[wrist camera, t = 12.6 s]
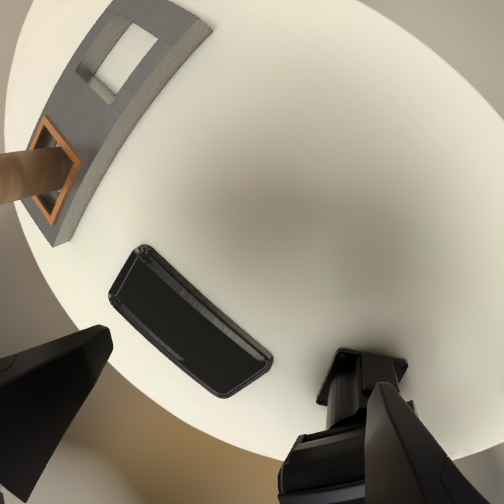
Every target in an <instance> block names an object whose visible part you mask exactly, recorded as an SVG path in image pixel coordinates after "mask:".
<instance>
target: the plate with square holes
mask: <svg viewBox="0 0 504 504" xmlns="http://www.w3.org/2000/svg"><path fill="white" fill-rule="evenodd" d="M132 22H134V23H135V24H137V25H138V26H140V27H141V28H143V29H145V30H146V31H148V32H149V33H151V34H152V35H154V36H155V37H157V38H158V40H157V42H156V43H155V44H154V45H153V46H152V48H151V49H150V50H149V51H148V53H147V54H146V55H145V56H144V58H143V59H142V60H141V61H140V63H139V64H138V65H137V67H136V68H135V69H134V71H133V72H132V73H131V75H130V76H129V78H128V79H127V80H126V82H125V83H124V85H123V86H122V87H121V89H120V90H119V92H118V93H117V95H116V96H115V95H114V94H113V93H112V92H111V91H110V90H109V89H108V88H107V87H106V86H104V85H103V84H102V83H101V82H100V81H99V80H98V79H97V78H96V77H95V76H94V74H95V72H96V71H97V69H98V67H99V66H100V65H101V63H102V62H103V60H104V59H105V57H106V56H107V54H108V53H109V52H110V50H111V49H112V47H113V46H114V45H115V43H116V42H117V41H118V39H119V38H120V37H121V36H122V34H123V33H124V32H125V30H126V29H127V28H128V27H129V25H130V24H131V23H132ZM212 31H213V30H212V29H210V28H209V27H208V26H207V25H206V24H205V23H204V22H203V21H202V20H201V19H200V18H199V17H197V16H195V15H193V14H192V13H190V12H188V11H186V10H185V9H183V8H181V7H179V6H177V5H176V4H174V3H172V2H170V1H168V0H113V1H112V2H111V3H110V5H109V6H108V7H107V8H106V10H105V11H104V12H103V13H102V15H101V16H100V17H99V19H98V20H97V21H96V23H95V24H94V25H93V27H92V28H91V29H90V31H89V32H88V34H87V35H86V36H85V38H84V39H83V41H82V42H81V44H80V45H79V47H78V48H77V50H76V51H75V53H74V55H73V56H72V58H71V59H70V61H69V63H68V64H67V66H66V68H65V69H64V71H63V73H62V75H61V76H60V78H59V80H58V82H57V84H56V85H55V87H54V89H53V91H52V93H51V95H50V97H49V99H48V101H47V103H46V105H45V107H44V109H43V111H42V113H41V116H40V118H39V120H38V122H37V124H36V127H35V129H34V131H33V134H32V136H31V139H30V141H29V144H28V146H27V149H26V150H34V149H43V148H54V146H55V144H56V142H58V144H59V145H60V146H61V147H62V149H63V150H64V151H65V153H66V154H67V155H68V156H69V158H70V159H71V160H72V161H73V163H74V164H73V166H72V168H71V170H70V173H69V175H68V177H67V179H66V181H65V183H64V185H63V188H62V190H61V192H60V195H59V194H58V192H57V191H56V190H55V191H51V192H47V193H43V194H39V195H35V196H31V197H28V198H24V199H20V200H21V202H22V203H23V205H24V206H25V208H26V210H27V211H28V213H29V214H30V216H31V217H32V219H33V220H34V222H35V223H36V225H37V226H38V228H39V229H40V231H41V232H42V233H43V235H44V236H45V238H46V239H47V241H48V242H49V243H50V245H51V246H52V247H56V246H58V245H60V244H63V243H65V242H67V241H70V240H71V237H72V235H73V233H74V231H75V229H76V227H77V225H78V223H79V220H80V218H81V216H82V214H83V212H84V210H85V208H86V207H87V205H88V203H89V201H90V199H91V197H92V195H93V193H94V191H95V190H96V188H97V186H98V184H99V182H100V181H101V179H102V177H103V175H104V174H105V172H106V170H107V169H108V167H109V165H110V163H111V162H112V160H113V159H114V157H115V155H116V154H117V152H118V150H119V149H120V147H121V146H122V144H123V143H124V141H125V140H126V138H127V137H128V135H129V134H130V132H131V131H132V129H133V128H134V126H135V125H136V123H137V122H138V120H139V119H140V118H141V116H142V115H143V113H144V112H145V111H146V109H147V108H148V106H149V105H150V104H151V102H152V101H153V100H154V98H155V97H156V96H157V95H158V93H159V92H160V91H161V89H162V88H163V87H164V86H165V84H166V83H167V82H168V81H169V79H170V78H171V77H172V76H173V74H174V73H175V72H176V71H177V70H178V68H179V67H180V66H181V65H182V64H183V63H184V61H185V60H186V59H187V58H188V57H189V56H190V55H191V54H192V52H193V51H194V50H195V49H196V48H197V47H198V46H199V45H200V44H201V43H202V42H203V41H204V39H205V38H206V37H207V36H208V35H209V34H210V33H211V32H212Z"/></svg>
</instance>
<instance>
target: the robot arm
mask: <svg viewBox="0 0 504 504" xmlns="http://www.w3.org/2000/svg"><path fill="white" fill-rule="evenodd" d="M112 351H113V342H112V338H111V334H110V330H109V328H108V327H106V326H103V325H95V326H92V327H89V328H87V329H84V330H81V331H78V332H76V333H73V334H70V335H67V336H64V337H62V338H59V339H56V340H53V341H50V342H47V343H45V344H42V345H39V346H36V347H33V348H30V349H27V350H25V351H22V352H19V353H18V354H17V353H16V354H13V355H10V356H7V357H4V358H1V359H0V490H1V489H2V487H5V488H6V489H7V490H8V491H10V492H11V493H12V494H13V495H15V496H16V497H17V498H19V499H20V500H21V501H23V502H24V503H26V502H27V500H28V499H29V497H30V495H31V493H32V491H33V489H34V487H35V485H36V483H37V481H38V480H39V478H40V476H41V474H42V472H43V470H44V469H45V467H46V464H47V463H48V461H49V459H50V457H51V456H52V454H53V453H54V451H55V449H56V447H57V446H58V444H59V442H60V441H61V439H62V437H63V435H64V434H65V432H66V431H67V429H68V427H69V426H70V424H71V422H72V421H73V419H74V417H75V416H76V414H77V412H78V411H79V409H80V407H81V406H82V404H83V403H84V401H85V400H86V398H87V397H88V395H89V393H90V392H91V390H92V388H93V387H94V385H95V384H96V382H97V380H98V378H99V376H100V374H101V372H102V370H103V368H104V367H105V365H106V363H107V361H108V359H109V357H110V355H111V353H112ZM340 354H344V355H343V356H340ZM401 365H404V366H401ZM407 368H408V363H407V361H406V360H403V359H397V358H392V357H388V356H383V355H377V354H372V353H366V352H364V353H363V352H358V351H353V350H348V349H339V350H337V351H336V353H335V356H334V358H333V361H332V363H331V366H330V368H329V370H328V373H327V375H326V377H325V380H324V382H323V384H322V387H321V389H320V391H319V393H318V395H317V398H316V403H317V404H319V405H323V406H327V420H326V430H325V431H321V432H317V433H313V434H309V435H307V434H303V435H299V436H298V438H297V440H296V442H295V443H294V445H293V447H292V449H291V451H290V453H289V454H288V456H287V458H286V460H285V461H284V463H283V465H282V467H281V469H280V471H279V474H278V490H279V494H278V500H279V502H280V504H490V503H489V502H488V501H487V500H486V499H485V498H484V497H483V496H482V495H481V494H480V493H479V491H478V490H477V489H476V488H475V487H474V486H473V485H472V484H471V483H470V482H469V481H468V480H467V479H466V478H465V476H464V475H463V474H462V473H461V472H460V471H459V469H458V468H457V467H456V466H455V464H454V463H453V462H452V460H451V459H450V458H449V457H447V454H446V453H445V451H444V450H443V449H442V447H441V446H440V445H439V444H438V442H437V441H436V440H435V438H434V437H433V436H432V435H431V433H430V432H429V431H428V430H427V428H426V427H425V426H424V424H423V423H422V422H421V421H420V419H419V417H418V414H417V411H416V408H415V405H414V402H413V400H411V401H409V402H405V400H404V399H403V398H402V397H401V395H400V394H399V393H400V389H399V382H400V381H401V379H402V377H403V375H404V374H405V372H406V370H407ZM0 504H4V498H3V493H1V492H0Z"/></svg>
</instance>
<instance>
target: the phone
mask: <svg viewBox="0 0 504 504" xmlns="http://www.w3.org/2000/svg"><path fill="white" fill-rule="evenodd" d="M108 298H109V301H110V303H111V305H112V306H113V307H114V308H115V309H116V310H117V311H118V312H119V313H120V314H121V315H122V316H123V317H124V318H125V319H126V320H127V321H128V322H129V323H130V324H131V325H132V326H133V327H134V328H135V329H136V330H137V331H138V332H139V333H140V334H142V335H143V336H144V337H145V338H146V339H147V340H148V341H149V342H150V343H151V344H152V345H154V346H155V347H156V348H157V349H158V350H159V351H160V352H161V353H163V354H164V355H165V356H166V357H167V358H168V359H169V360H171V361H172V362H173V363H174V364H175V365H176V366H178V367H179V368H180V369H181V370H182V371H184V372H185V373H186V374H187V375H189V376H190V377H191V378H192V379H194V380H195V381H196V382H197V383H199V384H200V385H201V386H202V387H204V388H205V389H206V390H208V391H209V392H210V393H211V394H213V395H214V396H216V397H218V398H223V399H225V398H229V397H231V396H232V395H234V394H235V393H237V392H239V391H240V390H242V389H243V388H245V387H246V386H248V385H249V384H251V383H252V382H254V381H255V380H256V379H258V378H259V377H261V376H262V375H264V374H265V373H267V372H268V371H269V370H270V368H271V366H272V362H273V357H272V355H271V354H270V353H269V351H267V350H266V349H265V348H264V347H262V346H261V345H260V344H259V343H258V342H256V341H255V340H254V339H253V338H252V337H250V336H249V335H248V334H247V333H246V332H245V331H243V330H242V329H241V328H240V327H239V326H238V325H236V324H235V323H234V322H233V321H232V320H231V319H229V318H228V317H227V316H226V315H225V314H224V313H223V312H221V311H220V310H219V309H218V308H217V307H216V306H215V305H213V304H212V303H211V302H210V301H209V300H208V299H207V298H206V297H204V296H203V295H202V294H201V293H200V292H199V291H198V290H197V289H196V288H195V287H193V286H192V285H191V284H190V283H189V282H188V281H187V280H186V279H185V278H184V277H183V276H182V275H180V274H179V273H178V272H177V271H176V270H175V269H174V268H173V267H172V266H171V265H170V264H169V263H168V262H167V261H166V260H165V259H164V258H162V257H161V256H160V255H159V254H158V253H157V252H156V251H155V250H154V249H153V248H152V247H150V246H148V245H141V246H139V247H137V248H135V249H134V250H133V251H132V253H131V254H130V256H129V258H128V259H127V261H126V263H125V264H124V266H123V268H122V269H121V271H120V273H119V274H118V276H117V278H116V280H115V281H114V283H113V285H112V287H111V289H110V290H109V293H108Z"/></svg>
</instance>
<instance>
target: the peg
mask: <svg viewBox="0 0 504 504" xmlns="http://www.w3.org/2000/svg"><path fill="white" fill-rule="evenodd" d="M73 164H74V163H73V161H72V160H71V159H70V158H69V156H68V155H67V154H66V153H65V151H64V150H63V149H62V147H54V148H43V149H34V150H25V151H17V152H10V153H3V154H0V205H3V204H6V203H9V202H13V201H17V200H20V199H24V198H28V197H31V196H35V195H39V194H43V193H47V192H51V191H55V190H60V189H62V188H63V185H64V183H65V181H66V179H67V177H68V175H69V173H70V170H71V168H72V166H73Z"/></svg>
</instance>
